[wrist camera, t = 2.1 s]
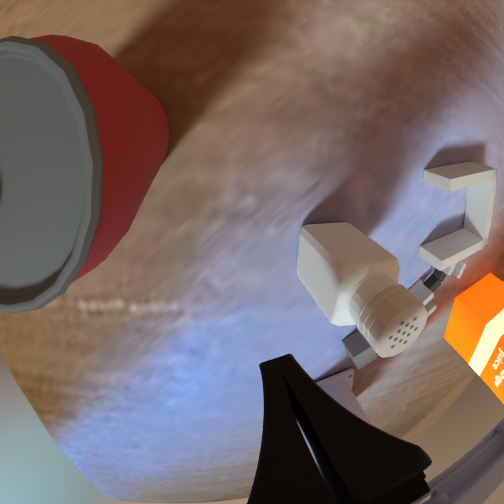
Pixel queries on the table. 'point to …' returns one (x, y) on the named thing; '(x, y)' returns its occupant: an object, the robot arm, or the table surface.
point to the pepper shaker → (359, 286)
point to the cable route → (360, 346)
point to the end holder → (476, 212)
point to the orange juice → (481, 330)
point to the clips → (425, 294)
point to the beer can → (68, 162)
